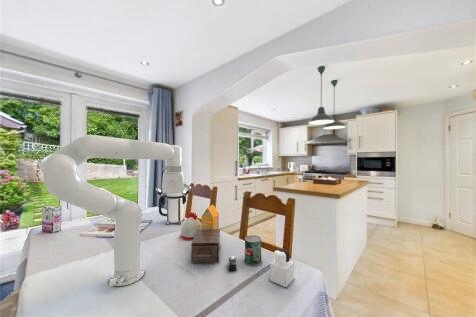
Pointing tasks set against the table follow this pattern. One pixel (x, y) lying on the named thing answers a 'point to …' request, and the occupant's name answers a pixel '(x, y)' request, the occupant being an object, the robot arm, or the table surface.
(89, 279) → the table surface
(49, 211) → the candy bar box
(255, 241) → the canned tomato
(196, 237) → the cabinet
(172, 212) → the coffee press
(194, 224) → the kitchen timer
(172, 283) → the table surface
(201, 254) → the drawer
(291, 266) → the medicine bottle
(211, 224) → the orange juice
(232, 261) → the black and silver block
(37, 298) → the table surface
